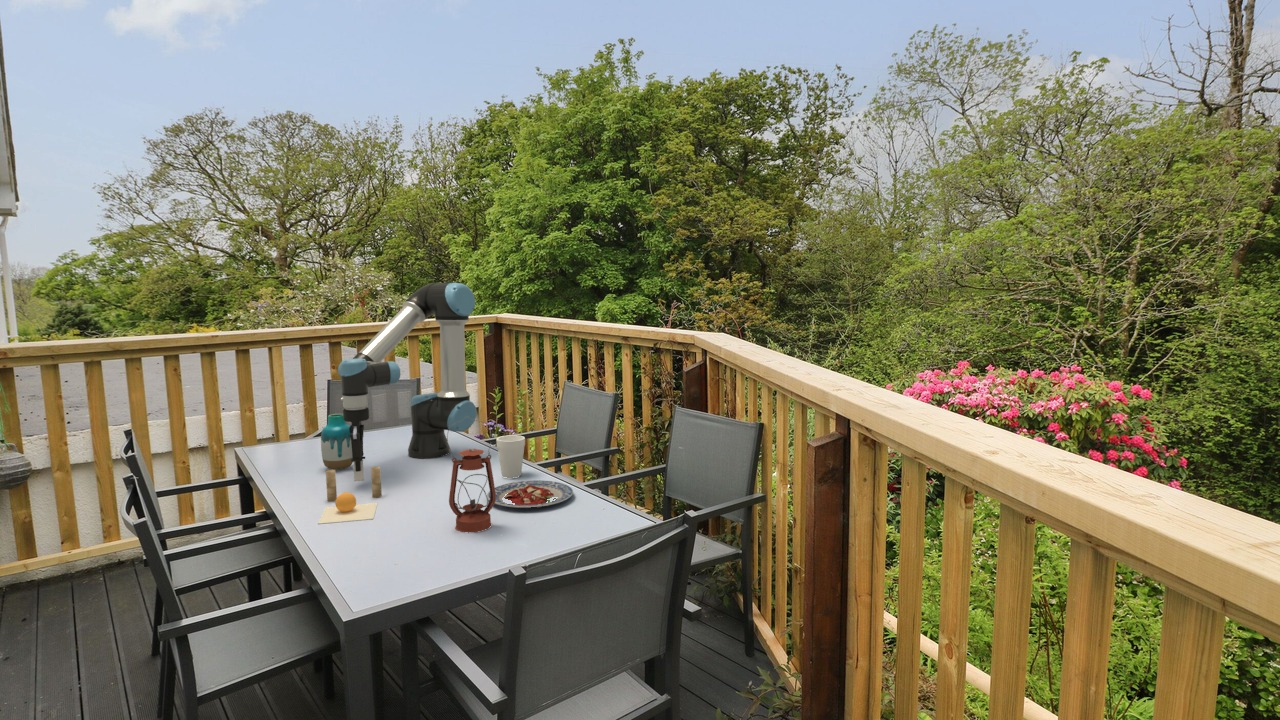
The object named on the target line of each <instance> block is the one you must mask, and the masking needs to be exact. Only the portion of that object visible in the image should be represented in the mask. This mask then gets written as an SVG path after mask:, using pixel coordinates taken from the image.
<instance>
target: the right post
mask: <svg viewBox="0 0 1280 720" xmlns="http://www.w3.org/2000/svg"><path fill="white" fill-rule="evenodd" d="M370 471H371V476H370V477H371V493H372V495H371V497H372V498H373V499H378V498H379V499H380V498H381V497H382V478H381V476H382V475H381V473H382V472H381V467H380V466H373V467H371V470H370Z"/></svg>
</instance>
